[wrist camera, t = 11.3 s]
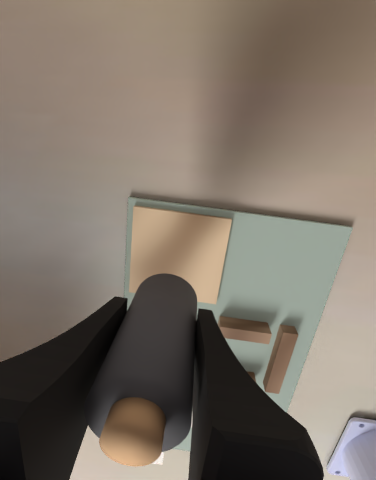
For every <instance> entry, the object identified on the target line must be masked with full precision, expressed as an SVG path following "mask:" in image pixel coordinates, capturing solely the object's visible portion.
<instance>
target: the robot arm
mask: <svg viewBox="0 0 376 480" xmlns="http://www.w3.org/2000/svg"><path fill="white" fill-rule="evenodd" d="M127 302H128V298H122V297H114V298H113V299H111V300H110V301H109V302H107V303H106V304H105V305H103V306H102V307H101V308H100V309H98V310H97V311H96V312H94V313H93V314H91V315H90V316H89V317H87V318H86V319H85V320H83V321H82V322H80V323H79V324H77V325H76V326H74V327H73V328H71V329H70V330H68V331H66V332H65V333H63V334H61V335H59V336H58V337H56V338H54V339H52V340H50V341H48V342H46V343H44V344H42V345H40V346H38V347H36V348H33V349H31V350H29V351H27V352H25V353H23V354H20V355H18V356H15V357H13V358H10V359H8V360H5V361H2V362H0V480H69V479H70V476H71V473H72V470H73V467H74V464H75V461H76V458H77V455H78V452H79V449H80V446H81V443H82V440H83V437H84V434H85V432H86V429H87V426H88V424H87V421H86V419H85V415H84V405H85V401H86V398H87V396H88V394H89V392H90V390H91V388H92V385H93V383H94V381H95V379H96V377H97V375H98V373H99V370H100V368H101V366H102V364H103V362H104V360H105V358H106V355H107V353H108V351H109V349H110V347H111V345H112V343H113V340H114V338H115V336H116V334H117V332H118V330H119V328H120V325H121V323H122V321H123V319H124V317H125V315H126V313H127ZM327 471H328V473H329V474H332V475H339V476H346V477H349V479H350V480H376V420H370V419H364V418H357V417H353V418H351V419H350V420H349V422H348V424H347V426H346V428H345V430H344V432H343V434H342V436H341V438H340V440H339V443H338V445H337V447H336V449H335V451H334V453H333V455H332V457H331V459H330V461H329V463H328V465H327ZM323 477H324V473H323V467H322V465H321V462H320V459H319V456H318V454H317V451H316V449H315V447H314V445H313V442H312V440H311V438H310V436H309V434H308V432H307V430H306V428H304V427H303V426H302V425H301V424H300V423H298V422H297V421H296V420H295V419H294V418H292V417H291V416H290V415H289V414H288V413H286V412H285V411H284V410H283V409H282V408H281V407H280V406H278V405H277V404H276V403H275V402H274V401H273V400H272V399H271V398H270V397H269V396H268V395H267V394H266V393H265V392H264V391H263V390H262V389H261V388H260V386H259V385H258V384H257V383H256V382H255V381H254V380H253V379H252V378H251V376H250V375H249V374H248V373H247V371H246V370H245V369H244V367H243V366H242V365H241V363H240V362H239V360H238V359H237V358H236V356H235V354H234V353H233V351H232V350H231V348H230V346H229V345H228V343H227V341H226V339H225V338H224V336H223V334H222V332H221V330H220V328H219V326H218V324H217V321H216V319H215V316H214V314H213V312H212V310H207V309H200V308H199V309H198V315H197V321H196V339H195V362H194V382H193V403H192V434H191V449H190V464H189V479H188V480H323Z"/></svg>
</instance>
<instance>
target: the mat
mask: <svg viewBox="0 0 376 480" xmlns="http://www.w3.org/2000/svg"><path fill="white" fill-rule="evenodd" d="M134 205H136V206H144V207H151V208H158V209H166V210H173V211H181V212H188V213H196V214H203V215H210V216H218V217H225V218H232V222H231V228H230V233H229V238H228V244H227V249H226V254H225V260H224V265H223V270H222V276H221V281H220V286H219V292H218V297H217V302H216V304H210V303H203V302H197V315H198V309H199V308H200V309H207V310H212V312H213V314H214V316H215V319H216V321H217V324H218V321H219V316H224V317H231V318H239V319H246V320H253V321H260V322H267V323H268V325H269V327H270V330H271V333H272V336H271V339H270V342H269V344H262V343H255V342H248V341H241V340H234V339H227V338H225V339H226V341H227V343H228V345H229V346H230V348H231V350H232V351H233V353H234V354H235V356H236V358H237V359H238V360H239V362H240V363H241V365H242V366H243V367H244V369H245V370H246V371H248V372H254V374H255V379H256V383H257V384H258V385H259V386H260V388H261V389H262V390H263V391H264V392H265V389H264V385H263V380H264V376H265V373H266V370H267V366H268V363H269V360H270V356H271V353H272V349H273V346H274V343H275V339H276V336H277V332H278V329H279V326H280V324H281V325H288V326H295V328H296V330H297V332H298V334H299V335H298V338H297V341H296V344H295V347H294V350H293V353H292V356H291V359H290V362H289V365H288V368H287V371H286V374H285V377H284V380H283V383H282V386H281V389H280V392H279V394H275V393H268V392H265V393H266V394H267V395H268V396H269V397H270V398H271V399H272V400H273V401H274V402H275V403H276V404H277V405H278V406H280V407H281V408H282V409H283V410H284V411H285V412H286V413H287V410H288V407H289V405H290V402H291V399H292V396H293V393H294V391H295V388H296V385H297V382H298V380H299V377H300V374H301V371H302V368H303V366H304V363H305V360H306V357H307V354H308V352H309V349H310V346H311V343H312V340H313V338H314V335H315V332H316V329H317V326H318V324H319V321H320V318H321V315H322V312H323V310H324V307H325V304H326V301H327V298H328V296H329V293H330V290H331V287H332V284H333V282H334V279H335V276H336V273H337V271H338V268H339V265H340V262H341V259H342V257H343V254H344V251H345V248H346V245H347V243H348V240H349V237H350V234H351V231H352V229H353V228H352V227H351V226H346V225H338V224H331V223H323V222H316V221H309V220H301V219H294V218H286V217H279V216H271V215H264V214H256V213H249V212H241V211H234V210H227V209H219V208H212V207H204V206H197V205H189V204H182V203H174V202H167V201H160V200H152V199H145V198H137V197H128V213H127V236H126V259H125V282H124V298H128V302H127V310H128V308H129V306H130V304H131V302H132V300H133V298H134V295H135V293H131V292H129V281H130V262H131V242H132V222H133V206H134ZM191 434H192V428H191V429H190V431H189V434H188V435H187V437H186V438H185V439H184V440H183V442H181V443H180V444H179V445H177V446H176V447H174V448H172V449H177V450H184V451H190V449H191Z"/></svg>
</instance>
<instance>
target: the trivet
mask: <svg viewBox="0 0 376 480" xmlns="http://www.w3.org/2000/svg"><path fill="white" fill-rule="evenodd" d="M231 222H232V218H225V217H218V216H210V215H203V214H196V213H188V212H181V211H173V210H166V209H158V208H151V207H144V206H136V205H134V206H133V222H132V242H131V262H130V281H129V292H131V293H136V291H137V289H138V287H139V285H140V284H141V283H142V282H143V281H144V280H145V279H147V278H148V277H150V276H153V275H156V274H162V273H167V274H173V275H176V276H179V277H181V278H183V279H184V280H186V281H187V282H188V283H189V284H190V285H191V286H192V287H193V289H194V291H195V293H196V296H197V302H203V303H210V304H216V302H217V297H218V292H219V286H220V281H221V276H222V270H223V265H224V260H225V254H226V249H227V244H228V238H229V233H230V228H231Z"/></svg>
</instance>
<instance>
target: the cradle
mask: <svg viewBox="0 0 376 480" xmlns="http://www.w3.org/2000/svg"><path fill="white" fill-rule="evenodd" d="M218 326H219V328H220V330H221V332H222V334H223V336H224V338H227V339H234V340H241V341H248V342H255V343H262V344H269V342H270V339H271V336H272V333H271V330H270V327H269V325H268V323H267V322H260V321H253V320H246V319H239V318H231V317H224V316H219V321H218ZM298 335H299V334H298V332H297V330H296V328H295V326H288V325H281V324H280V326H279V329H278V332H277V336H276V339H275V343H274V346H273V349H272V353H271V356H270V360H269V363H268V366H267V370H266V373H265V376H264V380H263V385H264V389H265V392H268V393H275V394H279V392H280V389H281V386H282V383H283V380H284V377H285V374H286V371H287V368H288V365H289V362H290V359H291V356H292V353H293V350H294V347H295V344H296V341H297V338H298ZM247 373H248V374H249V375H250V376H251V378H252V379H253V380H254V381H255V382H256V379H255V374H254V372H248V371H247Z"/></svg>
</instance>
